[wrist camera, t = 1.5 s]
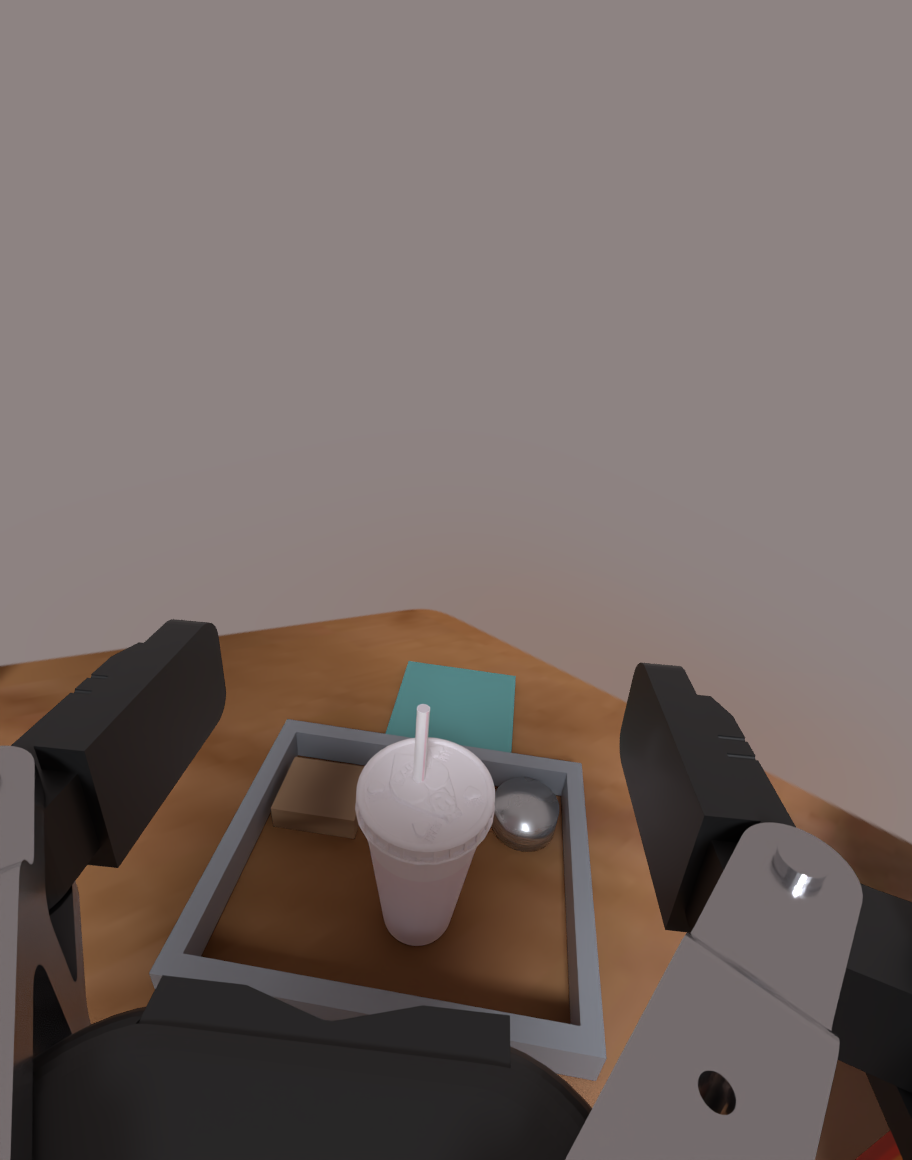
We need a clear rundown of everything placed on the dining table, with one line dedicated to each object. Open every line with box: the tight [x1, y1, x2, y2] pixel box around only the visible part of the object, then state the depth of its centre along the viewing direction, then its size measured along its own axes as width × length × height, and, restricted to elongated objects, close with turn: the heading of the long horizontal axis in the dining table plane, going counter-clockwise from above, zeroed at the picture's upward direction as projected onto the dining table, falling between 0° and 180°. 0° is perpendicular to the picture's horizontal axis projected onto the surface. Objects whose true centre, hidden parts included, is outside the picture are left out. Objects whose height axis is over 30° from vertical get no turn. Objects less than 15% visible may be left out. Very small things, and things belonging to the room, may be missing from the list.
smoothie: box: [355, 704, 495, 946], centre depth 27 cm, size 6×6×14 cm
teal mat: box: [386, 661, 516, 753], centre depth 44 cm, size 9×9×1 cm
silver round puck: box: [492, 777, 559, 852], centre depth 35 cm, size 4×4×2 cm
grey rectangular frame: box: [149, 719, 606, 1081], centre depth 32 cm, size 20×16×2 cm
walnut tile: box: [271, 757, 364, 839], centre depth 36 cm, size 5×4×2 cm
